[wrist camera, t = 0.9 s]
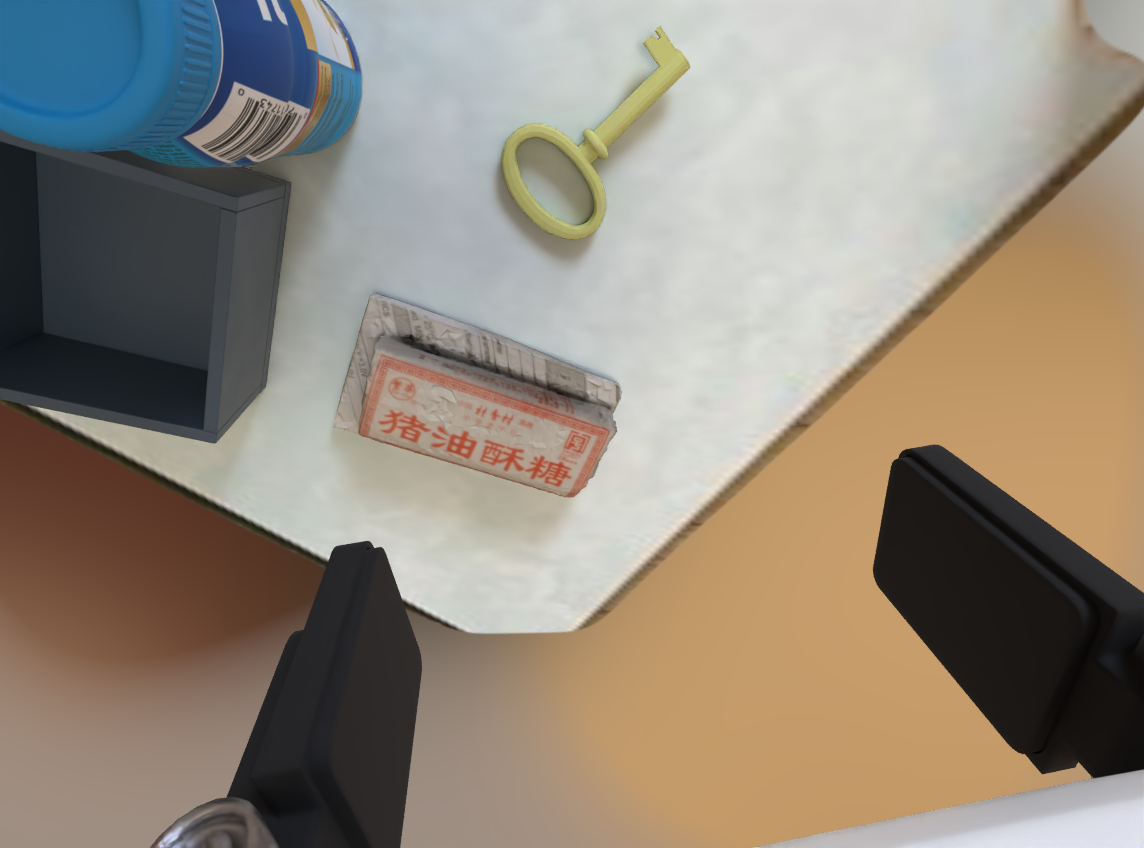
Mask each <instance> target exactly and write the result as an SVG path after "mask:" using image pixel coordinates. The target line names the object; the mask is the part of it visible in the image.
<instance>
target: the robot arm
mask: <svg viewBox="0 0 1144 848" xmlns="http://www.w3.org/2000/svg"><path fill="white" fill-rule="evenodd" d="M873 574H874V578H875V581H876V583H877V585H878V587H879V588H880V590H881V591H882V592H883V593H884V594H885V596H886V597H887V598H888V599H889V601H890V602H891V603H892V604H893V605H894V607H895V608H896V609H897V610H898V611H899V613H900V614H901V615H902V616H903V617H904V619H905V620H906V621H907V622H908V624H909V625H910V626H911V627H912V628H913V630H914V631H915V632H916V633H917V634H918V636H919V637H920V638H921V639H922V640H923V642H924V643H925V644H926V645H927V646H928V648H929V649H930V650H931V651H932V653H933V654H934V655H935V656H936V657H937V659H938V660H939V661H940V662H941V663H942V665H943V666H944V667H945V668H946V670H947V671H948V672H949V673H950V674H951V676H952V677H953V678H954V679H955V680H956V682H957V683H958V684H959V685H960V686H961V688H962V689H963V690H964V691H965V693H966V694H967V695H968V696H969V697H970V699H971V700H972V701H973V702H974V703H975V705H976V706H977V707H978V708H979V710H980V711H981V712H982V713H983V714H984V716H985V717H986V718H987V719H988V720H989V721H990V723H991V724H992V725H993V726H994V728H995V729H996V730H997V731H998V733H999V734H1000V735H1001V736H1002V737H1003V738H1004V740H1005V741H1006V742H1007V743H1008V744H1009V745H1010V746H1011V747H1012V749H1014V750H1015V751H1017V752H1018V753H1021V754H1025V755H1026V756H1027V757H1028V758H1029V759H1030V761H1031V762H1032V763H1033V764H1034V765H1035V766H1036V768H1037V769H1038V770H1039V771H1040V772H1041V774H1046V773H1051V772H1056V771H1060V770H1065V769H1070V768H1075V767H1076V765H1077V763H1078V762H1079V763H1080V764H1081V765H1082V766H1083V767H1084V768H1085V769H1086V771H1087V772H1088V773H1089V774H1090V775H1091V779H1089V780H1083V781H1078V782H1073V783H1068V784H1063V785H1058V786H1053V787H1049V788H1044V789H1038V790H1034V791H1028V792H1023V793H1018V794H1014V795H1008V796H1003V797H998V798H993V799H988V800H983V801H979V802H973V803H968V804H963V805H958V806H954V807H948V808H943V809H939V810H933V811H929V812H923V813H918V814H914V815H909V816H904V817H899V818H894V819H889V820H884V821H880V822H875V823H870V824H865V825H860V826H855V827H850V828H846V829H841V830H836V831H831V832H826V833H821V834H816V835H812V836H807V837H802V838H797V839H792V840H787V841H783V842H778V843H773V844H768V845H763V846H759V847H754V848H1144V593H1143V592H1141V591H1140V590H1138V589H1137V588H1136V587H1135V586H1133V585H1132V584H1130V583H1129V582H1127V581H1126V580H1125V579H1124V578H1122V577H1121V576H1119V575H1118V574H1117V573H1115V572H1114V571H1113V570H1111V569H1110V568H1108V567H1107V566H1106V565H1104V564H1103V563H1102V562H1100V561H1099V560H1098V559H1096V558H1095V557H1093V556H1092V555H1091V554H1089V553H1088V552H1087V551H1085V550H1084V549H1082V548H1081V547H1080V546H1078V545H1077V544H1076V543H1074V542H1073V541H1071V540H1070V539H1069V538H1067V537H1066V536H1065V535H1063V534H1062V533H1060V532H1059V531H1058V530H1056V529H1055V528H1053V527H1052V526H1051V525H1050V524H1048V523H1047V522H1045V521H1044V520H1043V519H1041V518H1040V517H1039V516H1037V515H1036V514H1034V513H1033V512H1032V511H1030V510H1029V509H1027V508H1026V507H1025V506H1023V505H1022V504H1020V503H1019V502H1018V501H1017V500H1015V499H1014V498H1012V497H1011V496H1010V495H1008V494H1007V493H1006V492H1004V491H1003V490H1001V489H1000V488H999V487H997V486H996V485H995V484H993V483H992V482H990V481H989V480H988V479H986V478H985V477H984V476H982V475H981V474H980V473H978V472H977V471H975V470H974V469H973V468H971V467H970V466H969V465H967V464H966V463H964V462H963V461H962V460H960V459H959V458H958V457H956V456H955V455H953V454H952V453H951V452H949V451H948V450H946V449H945V448H944V447H942V446H940V445H929V446H923V447H917V448H911V449H906V450H904V451H902V452H901V453H900V455H899V458H898V459H896V460H894V462H893V463H892V465H891V470H890V476H889V482H888V487H887V492H886V498H885V504H884V509H883V515H882V520H881V527H880V532H879V537H878V543H877V549H876V554H875V560H874V566H873ZM421 672H422V661H421V654H420V650H419V647H418V644H417V641H416V638H415V636H414V633H413V630H412V627H411V624H410V621H409V618H408V616H407V613H406V610H405V607H404V604H403V601H402V598H401V595H400V593H399V590H398V587H397V584H396V581H395V578H394V576H393V573H392V570H391V567H390V564H389V561H388V558H387V556H386V553H385V551H384V549H383V548H382V547H378V548H374V547H373V545H372V543H371V542H370V541H364V542H358V543H352V544H346V545H340V546H336V547H335V548H334V549H333V551H332V553H331V556H330V559H329V561H328V564H327V567H326V570H325V573H324V575H323V578H322V581H321V584H320V586H319V589H318V592H317V595H316V597H315V600H314V603H313V606H312V609H311V611H310V614H309V617H308V620H307V622H306V625H305V628H304V630H300V631H295V632H294V633H293V634H292V635H291V636H290V637H289V639H288V641H287V643H286V645H285V648H284V650H283V653H282V655H281V658H280V661H279V663H278V666H277V668H276V671H275V674H274V676H273V679H272V681H271V684H270V687H269V689H268V692H267V695H266V697H265V700H264V702H263V705H262V707H261V710H260V712H259V715H258V718H257V720H256V723H255V726H254V728H253V731H252V733H251V736H250V738H249V741H248V744H247V746H246V749H245V751H244V754H243V756H242V759H241V762H240V764H239V767H238V770H237V772H236V775H235V777H234V780H233V782H232V785H231V788H230V790H229V793H228V795H227V798H219V799H215V800H213V801H210V802H207V803H205V804H203V805H200V806H198V807H196V808H194V809H193V810H191V811H190V812H188V813H187V814H185V815H183V816H182V817H180V818H179V819H177V820H176V821H175V822H174V823H173V824H172V825H171V826H170V827H169V828H168V829H167V830H165V831H164V832H163V833H162V834H161V835H160V836H159V837H158V838H157V839H156V841H155V842H154V843H153V844H152V846H151V847H150V848H400V844H401V836H402V828H403V820H404V812H405V804H406V795H407V787H408V779H409V771H410V763H411V755H412V746H413V738H414V729H415V721H416V713H417V706H418V697H419V689H420V681H421Z"/></svg>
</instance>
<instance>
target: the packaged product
mask: <svg viewBox="0 0 1144 848" xmlns="http://www.w3.org/2000/svg"><path fill="white" fill-rule="evenodd" d="M621 394H622V391H621V388H620V385H619V384H618V383H615V382H613V381H610V380H607V379H604V378H602V377H599V376H596V375H593V374H591V373H588V372H585V371H583V370H580V369H578V368H576V367H573V366H571V365H569V364H566V363H564V362H562V361H559V360H557V359H555V358H552V357H550V356H548V355H545V354H543V353H541V352H538V351H536V350H534V349H531V348H529V347H526V346H524V345H521V344H519V343H517V342H514V341H512V340H509V339H507V338H504V337H501V336H499V335H496V334H493V333H490V332H487V331H484V330H481V329H478V328H476V327H473V326H470V325H467V324H464V323H461V322H458V321H455V320H452V319H450V318H447V317H444V316H441V315H438V314H435V313H432V312H429V311H427V310H424V309H421V308H418V307H415V306H412V305H409V304H406V303H403V302H400V301H397V300H394V299H391V298H388V297H385V296H382V295H379V294H375V295H372V296H370V298H369V301H368V305H367V308H366V311H365V314H364V317H363V321H362V325H361V328H360V332H359V336H358V340H357V343H356V347H355V350H354V353H353V356H352V359H351V362H350V365H349V369H348V372H347V376H346V380H345V383H344V387H343V390H342V394H341V398H340V402H339V406H338V410H337V414H336V418H335V422H334V426H333V427H335V428H340V429H344V430H348V431H351V432H355V433H357V434H359V435H361V436H363V437H368V438H370V439H373V440H375V441H378V442H381V443H386V444H389V445H392V446H396V447H399V448H403V449H406V450H409V451H412V452H415V453H419V454H422V455H426V456H430V457H433V458H436V459H439V460H443V461H446V462H450V463H453V464H457V465H460V466H463V467H467V468H470V469H474V470H477V471H480V472H484V473H487V474H490V475H493V476H496V477H500V478H503V479H507V480H510V481H513V482H517V483H520V484H523V485H527V486H530V487H534V488H536V489H539V490H544V491H547V492H550V493H554V494H557V495H559V496H563V497H574V496H575V495H577V494H578V493H579V492H580V490H581V489H583V488H585V487H586V485H587V483H588V480H589V479H591V478H592V477H594V475H595V472H596V469H597V467H598V464H599V461H600V459H601V458H602V456H603V454H604V453H605V452H606V450H607V446H608V444H609V442H610V441H611V439H612V438H613V437H614V435H615V434H616V432H617V427H616V426H615V425H616V421H614V420H613V412H614V411H615V409H616V407H617V405H618V402H619V400H620V399H621Z"/></svg>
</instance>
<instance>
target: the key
mask: <svg viewBox="0 0 1144 848" xmlns="http://www.w3.org/2000/svg"><path fill="white" fill-rule="evenodd" d="M655 32H656V33H657V35H658V36H659V39H658V40H657V38H656V37H655V36H654V37H653V38H651V37H648V39H647V40H646V41H645V42H644V43H643V44H644V45H645V47H646V48H647V49H648V51H649V52H650V54H651V55H652V57H653V58H654V60H655V61H656V63H657V64H658V65H659V67H658V68H657V69H656V70H655V71H654V72H653V73H652V74H651V75H650V76H649V77H648V78H647V79H646V80H645V81H644V82H643V83H642V84H641V85H640V86H639V87H638V88H637V89H636V90H635V91H634V92H633V93H632V94H631V95H630V96H629V97H628V98H627V99H626V100H625V101H624V102H623V103H622V104H621V105H620V106H619V107H618V108H617V109H616V110H615V111H614V112H613V113H612V114H611V115H610V116H609V117H608V118H607V119H606V120H605V121H604V122H603V123H602V124H601V125H600V126H599V127H597V128H596V129H595V130H594V131H592V130H590V129H586V130H585V131H584V132H583V136H584V139H585V140H584V141H583V142H582V143H581V144H580V145H579V146H577V145H576V144H575V143H574V142H573V141H572V140H571V139H569V138H568V137H567V136H566V135H565V134H563V133H562V132H560V131H558V130H557V129H555V128H552V127H549V126H547V125H544V124H534V123H533V124H527V125H524V126H522V127H520V128H518V129H517V130H516V131H515V132H513V133H512V134H511V135H510V137H509V138H508V139H507V140H506V142H505V145H504V148H503V152H502V159H501V160H502V170H503V174H504V178H505V181H506V184H507V187H508V189H509V191H510V193H511V195H512V197H513V199H514V200H515V201H516V203H517V204H518V206H519V207H520V208H521V210H522V211H523V212H524V213H525V214H526V215H527V216H528V217H529V218H530V219H531V220H532V221H533V222H534V223H535V224H536V225H538V226H539V227H540V228H542V229H543V230H545V231H546V232H548V233H551V234H553V235H555V236H558V237H561V238H565V239H581V238H584V237H587V236H589V235H590V234H592V233H593V232H594V231H595V230H596V229H597V228H598V227H599V226H600V224H601V222H602V220H603V218H604V215H605V211H606V197H605V191H604V187H603V184H602V182H601V179H600V177H599V175H598V173H597V171H596V170H595V168H594V166H593V165H592V162H593V161H594V160H595V159H596V158H597V157H600V158H601V159H606V158H607V157H608V151H607V148H608V147H609V146H610V145H611V144H612V143H613V142H614V141H615V140H616V139H617V138H618V137H619V136H620V135H621V134H622V133H623V132H624V131H625V130H626V129H627V128H628V127H629V126H630V125H631V124H632V123H633V122H635V121H636V120H637V119H638V118H639V117H640V116H641V115H642V114H643V113H644V112H645V111H646V110H647V109H648V108H649V107H650V106H651V105H652V104H653V103H654V102H655V101H656V100H657V99H658V98H659V97H660V96H661V95H662V94H663V93H665V92H666V91H667V90H668V89H669V88H670V87H671V86H672V85H673V84H674V83H675V82H676V81H677V80H678V79H679V78H680V77H681V76H682V75H683V74H684V73H685V72H686V71H687V70H688V69H689V68H690V65H689V62H688V61H687V59H686V58H685V56H684V55H683V54H682V52H681V51H680V50H679V49H675V47H674V46H673V44H672V43H671V41H670V40H669V38H668V37H667V35H666V34H665V32H664V31H663V29H662V28H661V26H660V27H658V28H657V29H656V30H655ZM533 137H536V138H541V139H544V140H546V141H548V142H551V143H552V144H554V145H555V146H557V147H558V148H560V149H561V150H562V151H563V152H564V153H565V154H566V155H567V156H568V157H569V158H570V159H571V160H572V161H573V162H574V163H575V164H576V166H577V167H578V168H579V170H580V171H581V173H582V174H583V176H584V177H585V179H586V181H587V182H588V184H589V187H590V189H591V192H592V195H593V199H594V212H593V215H592V216H591V218H590V219H589V220H588V221H587V222H586V223H584V224H582V225H571V224H568V223H565V222H563V221H561V220H559V219H557V218H555V217H554V216H552V215H551V214H550V213H548V212H547V211H546V210H545V209H543V208H542V207H541V206H540V204H539V203H538V202H537V201H536V200H535V199H534V198H533V196H532V195H531V194H530V192H529V190H528V189H527V187H526V185H525V184H524V182H523V180H522V177H521V175H520V172H519V169H518V166H517V161H516V152H517V149H518V147H519V145H520V144H521V143H522V142H523V141H525V140H527V139H529V138H533Z"/></svg>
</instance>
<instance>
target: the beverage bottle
mask: <svg viewBox="0 0 1144 848" xmlns="http://www.w3.org/2000/svg"><path fill="white" fill-rule="evenodd" d="M361 95H362V72H361V66H360V61H359V57H358V53H357V50H356V48H355V45H354V42H353V40H352V38H351V36H350V34H349V32H348V30H347V28H346V27H345V25H344V24H343V22H342V21H341V19H340V18H339V16H338V15H337V14H336V13H335V11H334V10H333V9H332V8H331V7H330V6H329V5H328V4H327V3H326V2H325V1H324V0H0V130H2V131H4V132H7V133H9V134H11V135H14V136H16V137H19V138H22V139H25V140H28V141H31V142H34V143H38V144H42V145H46V146H47V147H57V148H58V149H70V150H71V151H83V152H93V151H95V152H100V151H117V150H128V151H131V152H133V153H135V154H137V155H140V156H142V157H145V158H147V159H150V160H153V161H157V162H160V163H164V164H168V165H173V166H179V167H189V168H206V167H240V166H247V165H252V164H256V163H259V162H262V161H265V160H267V159H270V158H273V157H279V156H286V155H292V154H307V153H312V152H316V151H319V150H322V149H324V148H327V147H328V146H330V145H332V144H333V143H335V142H336V141H338V140H339V139H340V138H341V137H342V136H343V135H344V134H345V133H346V132H347V130H348V129H349V128H350V126H351V125H352V123H353V121H354V119H355V117H356V115H357V112H358V109H359V106H360V101H361Z"/></svg>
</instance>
